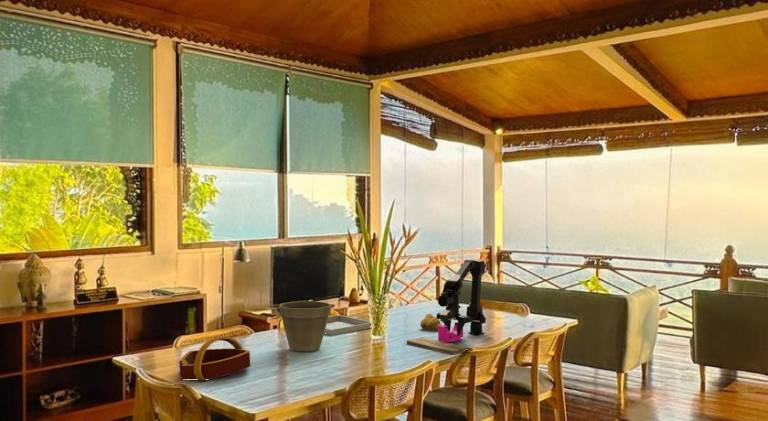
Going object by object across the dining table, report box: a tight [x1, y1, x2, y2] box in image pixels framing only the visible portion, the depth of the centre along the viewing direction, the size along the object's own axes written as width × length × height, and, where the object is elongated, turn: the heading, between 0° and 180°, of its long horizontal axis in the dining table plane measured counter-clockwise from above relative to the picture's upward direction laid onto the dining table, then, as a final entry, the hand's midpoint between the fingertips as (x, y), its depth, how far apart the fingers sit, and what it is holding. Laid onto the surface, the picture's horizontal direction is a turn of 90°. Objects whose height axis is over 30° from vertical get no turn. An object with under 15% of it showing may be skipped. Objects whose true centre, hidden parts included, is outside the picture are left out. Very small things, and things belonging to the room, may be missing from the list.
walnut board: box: [406, 336, 470, 355], centre depth 313 cm, size 12×30×2 cm, turn 43°
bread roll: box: [420, 313, 442, 331], centre depth 355 cm, size 13×10×8 cm
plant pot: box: [278, 300, 332, 352], centre depth 309 cm, size 25×25×22 cm
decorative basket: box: [178, 335, 252, 381], centre depth 268 cm, size 34×29×15 cm
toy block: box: [437, 321, 464, 343], centre depth 325 cm, size 15×6×8 cm, turn 133°
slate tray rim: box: [324, 314, 371, 336], centre depth 360 cm, size 31×31×3 cm
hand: (453, 334), depth 326 cm, fingers closed on toy block, 6 cm apart
